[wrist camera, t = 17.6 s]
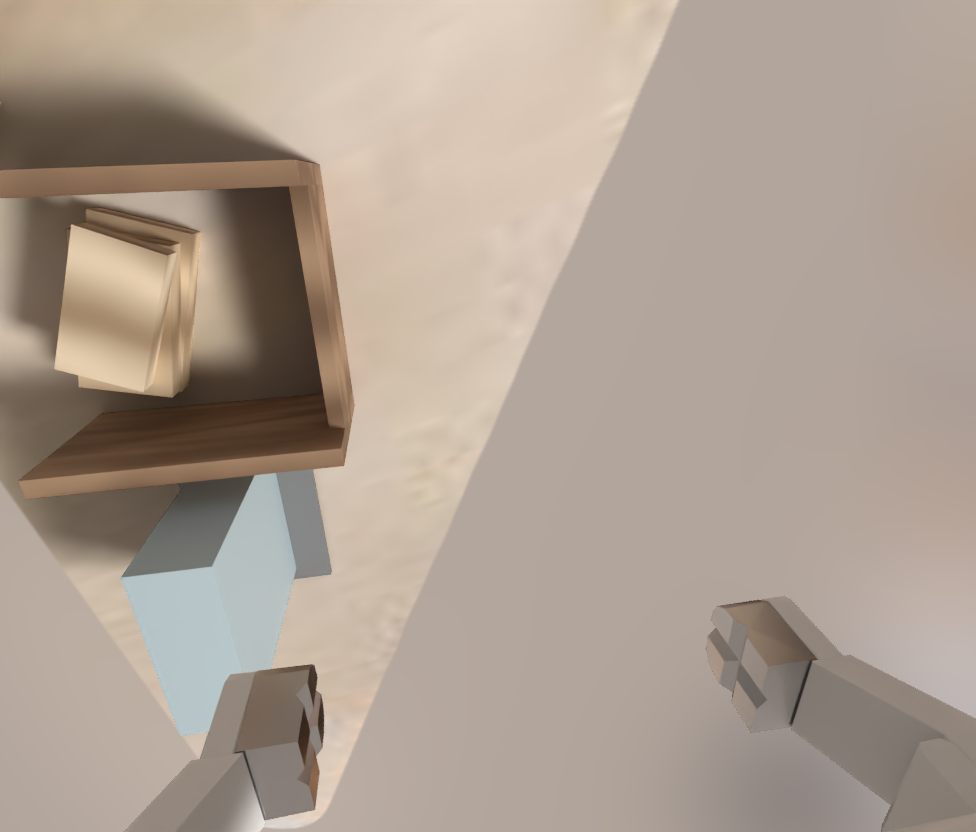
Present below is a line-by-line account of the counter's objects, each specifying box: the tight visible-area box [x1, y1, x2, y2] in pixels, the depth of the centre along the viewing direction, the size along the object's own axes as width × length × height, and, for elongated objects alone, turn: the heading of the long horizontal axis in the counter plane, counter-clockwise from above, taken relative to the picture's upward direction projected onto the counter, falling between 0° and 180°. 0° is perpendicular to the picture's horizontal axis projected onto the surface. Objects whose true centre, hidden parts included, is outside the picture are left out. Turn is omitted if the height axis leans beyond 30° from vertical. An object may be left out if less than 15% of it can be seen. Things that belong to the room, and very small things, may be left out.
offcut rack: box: [0, 160, 354, 499], centre depth 34 cm, size 17×18×10 cm
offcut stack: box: [54, 208, 201, 398], centre depth 36 cm, size 11×6×5 cm, turn 165°
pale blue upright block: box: [121, 473, 296, 736], centre depth 38 cm, size 12×4×15 cm, turn 2°
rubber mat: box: [179, 469, 332, 579], centre depth 45 cm, size 14×10×1 cm
